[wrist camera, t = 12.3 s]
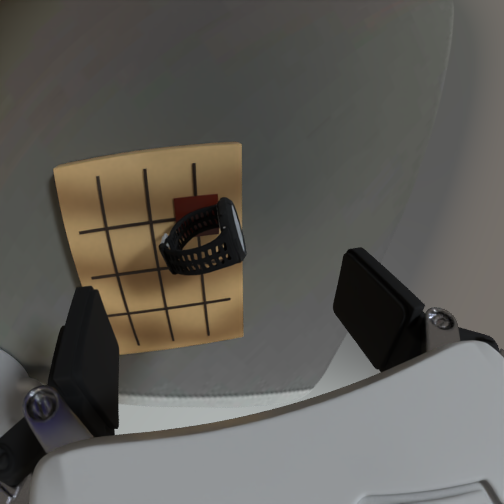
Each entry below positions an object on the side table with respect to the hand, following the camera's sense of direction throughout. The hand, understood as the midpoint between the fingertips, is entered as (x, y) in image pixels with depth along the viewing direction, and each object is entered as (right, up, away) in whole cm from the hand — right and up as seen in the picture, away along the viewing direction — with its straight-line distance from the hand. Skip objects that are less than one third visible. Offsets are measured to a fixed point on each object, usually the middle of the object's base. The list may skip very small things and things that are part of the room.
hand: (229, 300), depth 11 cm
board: (-6, +1, +10) cm, 12 cm away
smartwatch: (-3, +4, +8) cm, 10 cm away
